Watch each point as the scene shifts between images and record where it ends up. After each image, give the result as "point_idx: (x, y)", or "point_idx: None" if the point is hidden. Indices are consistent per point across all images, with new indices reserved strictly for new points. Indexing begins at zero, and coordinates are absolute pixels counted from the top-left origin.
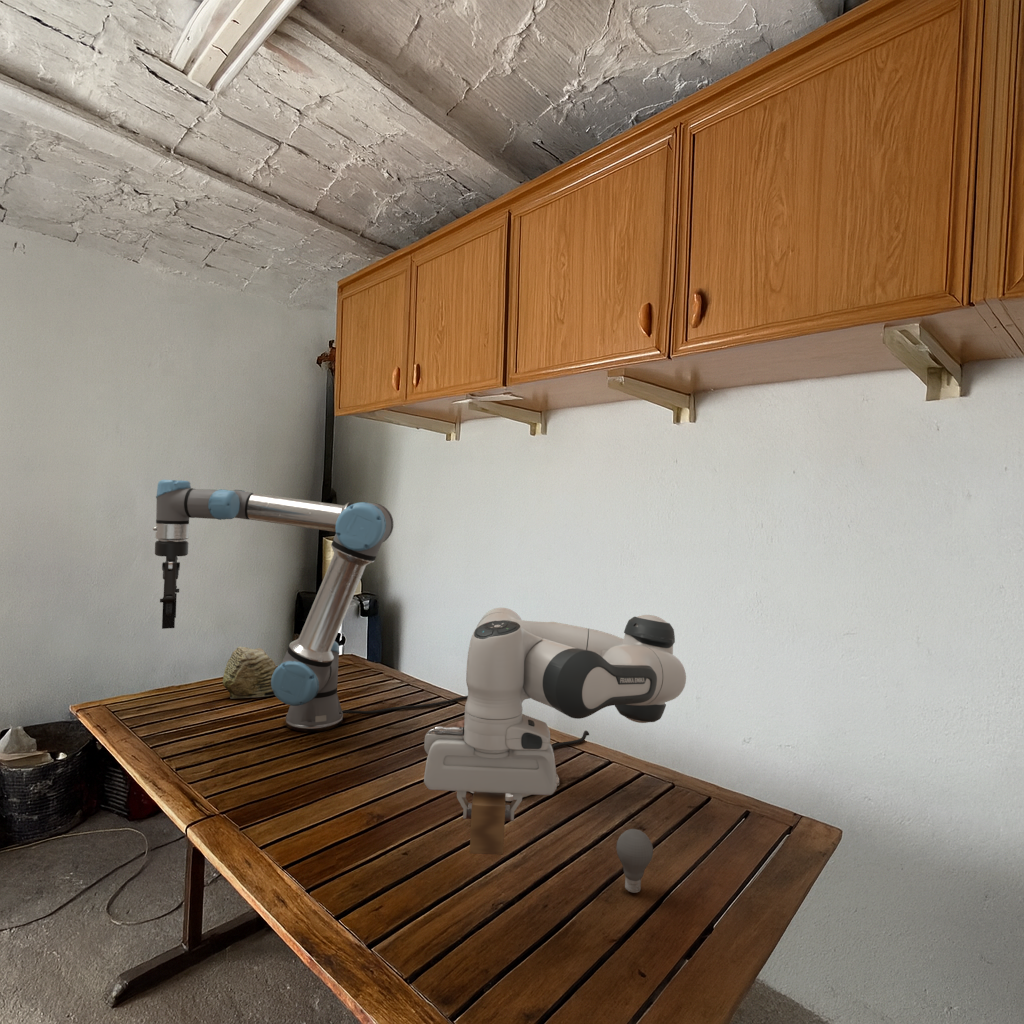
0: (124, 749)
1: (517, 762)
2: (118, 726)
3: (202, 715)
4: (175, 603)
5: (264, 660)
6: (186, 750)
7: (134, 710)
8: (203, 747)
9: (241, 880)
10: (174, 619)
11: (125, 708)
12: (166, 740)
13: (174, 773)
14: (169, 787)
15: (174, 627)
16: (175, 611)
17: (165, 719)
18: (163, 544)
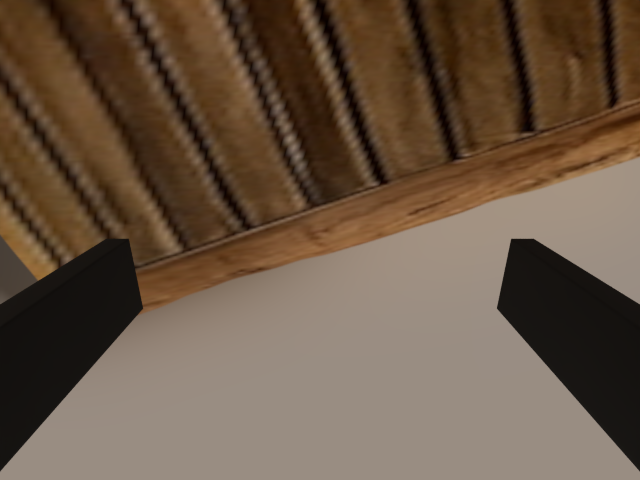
0: (372, 230)
1: None
2: (230, 251)
3: (194, 73)
4: (44, 303)
5: None
6: (431, 112)
7: (125, 230)
8: (429, 74)
9: None
10: (577, 267)
11: None
12: (351, 155)
13: (546, 134)
14: (609, 142)
15: (527, 240)
16: (100, 263)
17: (205, 162)
18: None
